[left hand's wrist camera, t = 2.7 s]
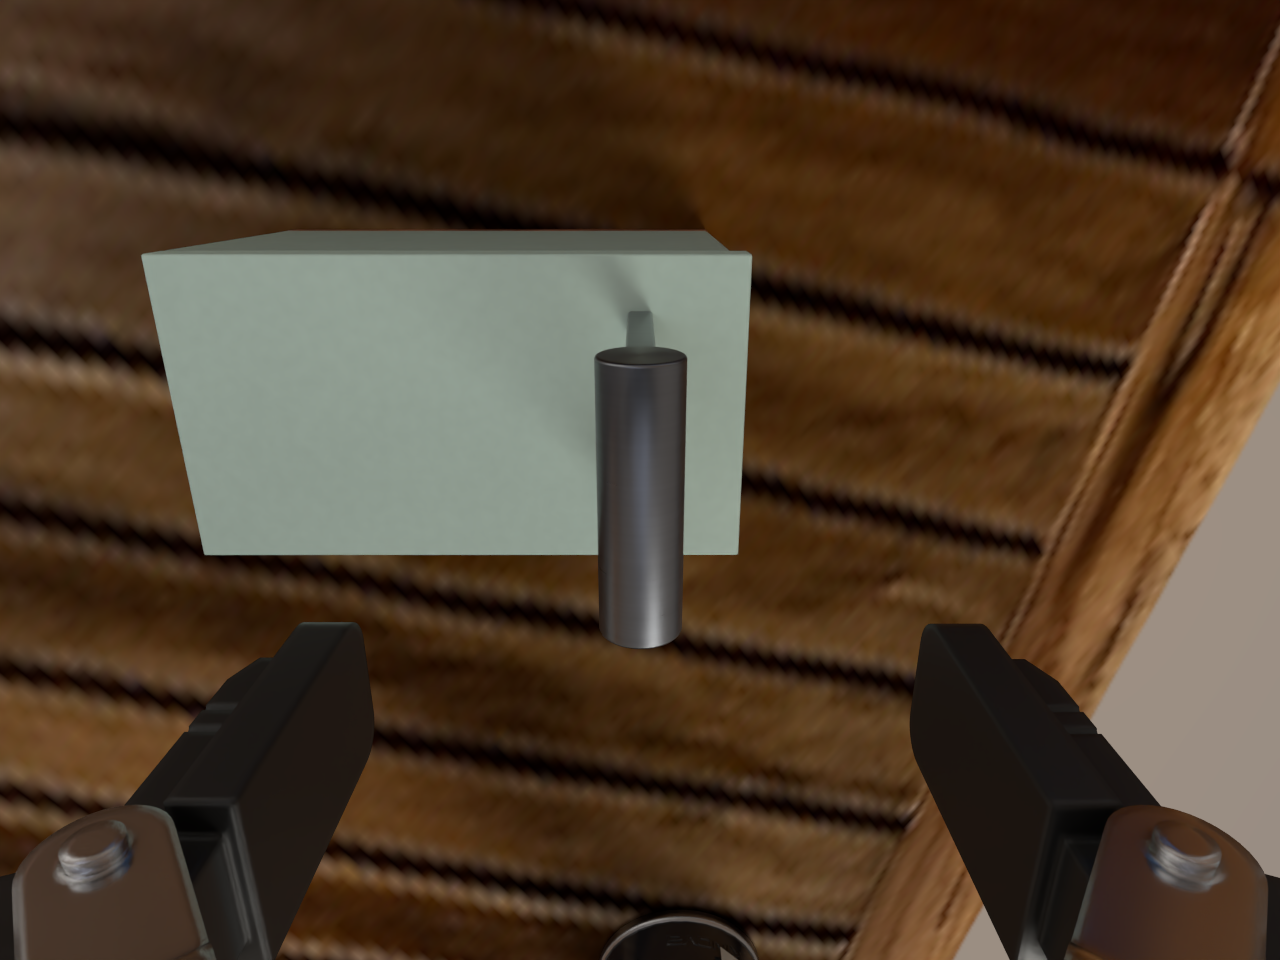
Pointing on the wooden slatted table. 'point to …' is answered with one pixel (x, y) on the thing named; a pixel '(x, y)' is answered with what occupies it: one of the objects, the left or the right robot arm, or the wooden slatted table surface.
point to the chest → (472, 240)
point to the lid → (465, 407)
